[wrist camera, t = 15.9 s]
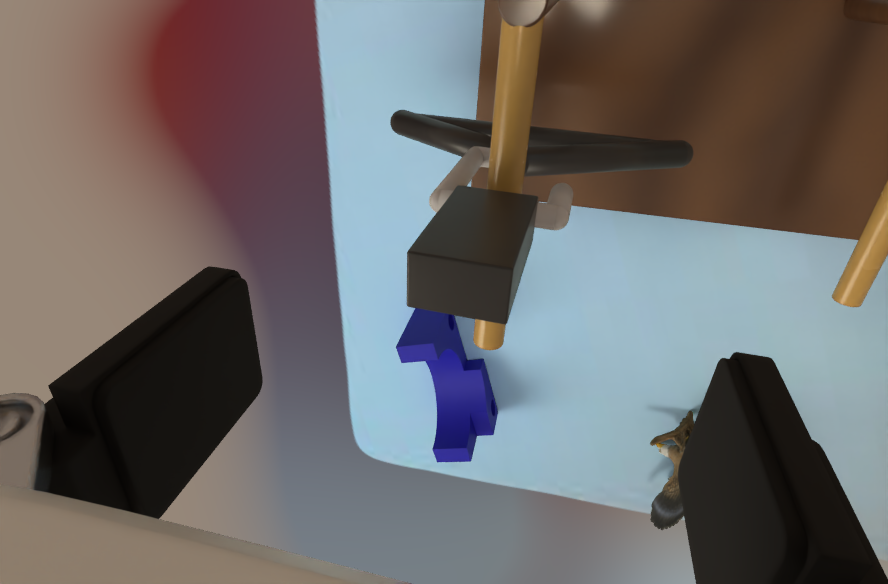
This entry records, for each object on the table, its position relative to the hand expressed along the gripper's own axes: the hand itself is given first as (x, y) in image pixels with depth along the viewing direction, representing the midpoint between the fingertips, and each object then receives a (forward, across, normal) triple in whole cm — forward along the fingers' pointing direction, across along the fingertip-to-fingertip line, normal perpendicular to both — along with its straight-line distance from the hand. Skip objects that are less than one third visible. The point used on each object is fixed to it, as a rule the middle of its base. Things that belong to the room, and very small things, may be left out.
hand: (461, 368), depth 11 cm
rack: (+29, -8, 0) cm, 30 cm away
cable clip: (+29, +5, +23) cm, 37 cm away
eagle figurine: (+30, -15, +28) cm, 43 cm away
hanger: (+18, 0, 0) cm, 18 cm away
